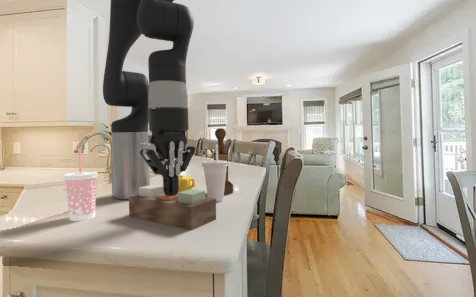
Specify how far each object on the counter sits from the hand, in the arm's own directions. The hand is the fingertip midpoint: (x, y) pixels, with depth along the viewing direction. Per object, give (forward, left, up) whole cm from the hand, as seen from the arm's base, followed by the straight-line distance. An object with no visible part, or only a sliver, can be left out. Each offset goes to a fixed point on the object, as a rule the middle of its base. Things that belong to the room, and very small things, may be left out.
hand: (171, 194), depth 57 cm
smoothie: (-1, +16, -5) cm, 17 cm away
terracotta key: (0, 0, -3) cm, 3 cm away
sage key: (+5, 0, -2) cm, 6 cm away
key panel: (0, 0, -5) cm, 5 cm away
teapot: (-14, +17, -5) cm, 23 cm away
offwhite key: (-6, 0, -2) cm, 6 cm away
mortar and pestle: (-5, +24, -5) cm, 25 cm away
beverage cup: (-16, -9, -5) cm, 19 cm away
